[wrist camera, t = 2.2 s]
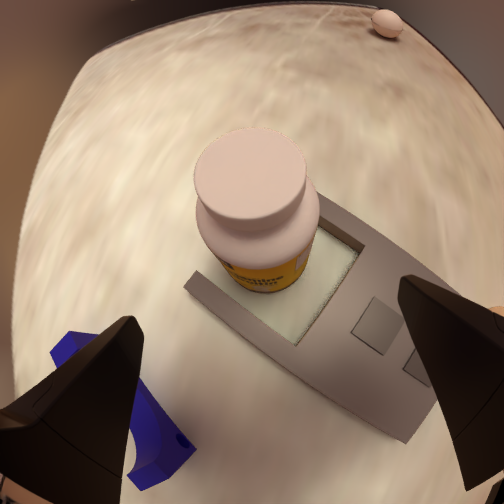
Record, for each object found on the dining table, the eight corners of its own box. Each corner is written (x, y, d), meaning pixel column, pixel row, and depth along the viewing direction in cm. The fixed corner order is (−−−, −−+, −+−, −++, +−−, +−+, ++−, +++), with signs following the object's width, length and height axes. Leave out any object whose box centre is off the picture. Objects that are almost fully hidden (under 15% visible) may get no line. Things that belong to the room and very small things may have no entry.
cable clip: (86, 362, 21) (41, 361, 15) (114, 336, 21) (69, 331, 15) (161, 468, 17) (128, 496, 11) (197, 448, 17) (169, 478, 12)
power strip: (397, 437, 16) (408, 446, 13) (191, 291, 21) (180, 285, 19) (469, 315, 18) (484, 311, 15) (280, 181, 24) (279, 165, 21)
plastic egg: (367, 26, 33) (370, 2, 27) (396, 33, 32) (401, 10, 26) (372, 43, 30) (377, 15, 25) (405, 51, 29) (411, 25, 24)
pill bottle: (210, 253, 22) (145, 175, 11) (267, 202, 23) (251, 95, 12) (265, 312, 20) (241, 279, 9) (325, 254, 21) (360, 167, 10)
